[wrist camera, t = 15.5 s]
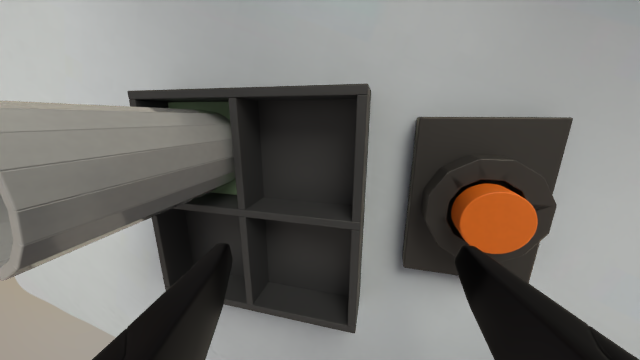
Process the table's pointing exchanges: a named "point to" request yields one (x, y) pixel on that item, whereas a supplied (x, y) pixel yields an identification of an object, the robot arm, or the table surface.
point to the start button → (494, 218)
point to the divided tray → (279, 199)
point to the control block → (479, 181)
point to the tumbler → (99, 172)
